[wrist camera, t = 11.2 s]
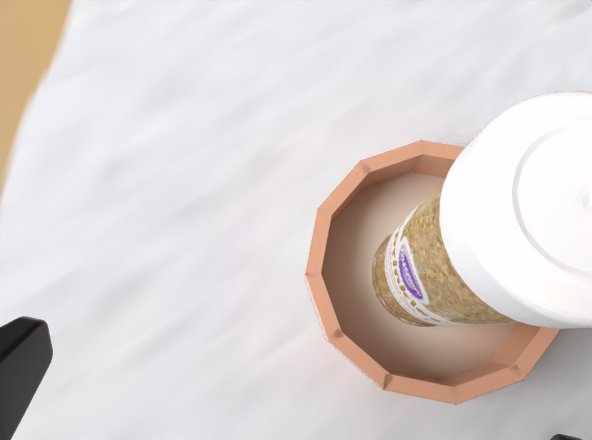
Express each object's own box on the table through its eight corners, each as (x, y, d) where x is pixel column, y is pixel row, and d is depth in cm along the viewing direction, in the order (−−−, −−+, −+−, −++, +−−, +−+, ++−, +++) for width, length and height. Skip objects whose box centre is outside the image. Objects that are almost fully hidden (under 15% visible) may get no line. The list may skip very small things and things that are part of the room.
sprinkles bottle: (350, 261, 22) (414, 163, 9) (432, 207, 23) (606, 39, 10) (410, 349, 21) (577, 382, 8) (494, 291, 22) (780, 234, 9)
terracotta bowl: (522, 412, 21) (557, 426, 18) (289, 364, 22) (286, 370, 19) (543, 187, 23) (577, 167, 20) (330, 149, 24) (333, 124, 21)
